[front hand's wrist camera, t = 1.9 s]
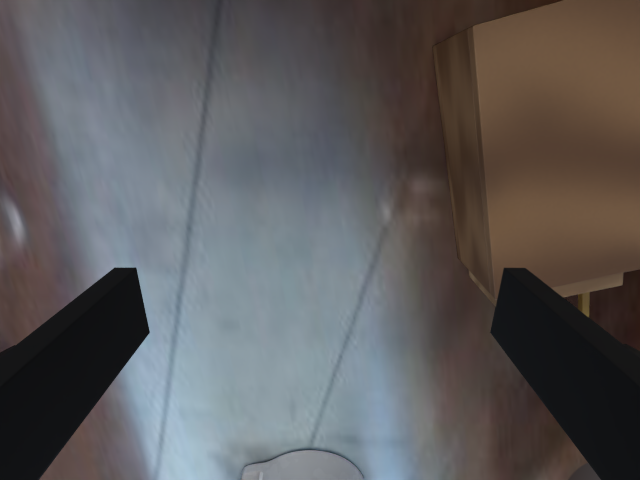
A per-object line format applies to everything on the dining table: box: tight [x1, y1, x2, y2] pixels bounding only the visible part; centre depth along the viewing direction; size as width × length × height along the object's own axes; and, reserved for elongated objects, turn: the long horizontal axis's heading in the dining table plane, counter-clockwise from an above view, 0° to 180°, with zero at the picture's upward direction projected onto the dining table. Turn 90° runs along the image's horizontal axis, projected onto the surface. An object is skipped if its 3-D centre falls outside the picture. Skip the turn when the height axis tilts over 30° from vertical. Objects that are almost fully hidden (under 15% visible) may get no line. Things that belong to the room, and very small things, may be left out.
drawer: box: [469, 271, 623, 317], centre depth 29 cm, size 24×10×6 cm, turn 14°
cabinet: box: [433, 0, 640, 299], centre depth 27 cm, size 19×11×8 cm, turn 14°
